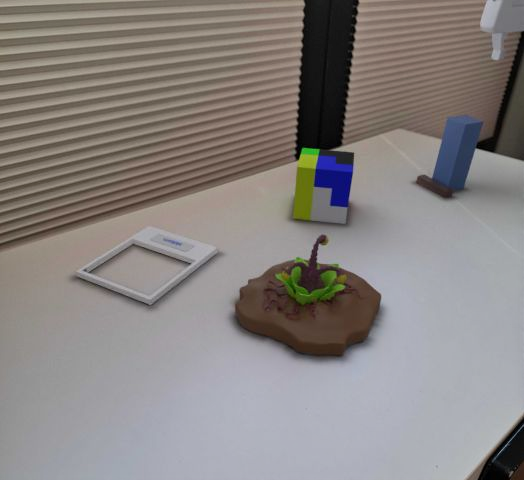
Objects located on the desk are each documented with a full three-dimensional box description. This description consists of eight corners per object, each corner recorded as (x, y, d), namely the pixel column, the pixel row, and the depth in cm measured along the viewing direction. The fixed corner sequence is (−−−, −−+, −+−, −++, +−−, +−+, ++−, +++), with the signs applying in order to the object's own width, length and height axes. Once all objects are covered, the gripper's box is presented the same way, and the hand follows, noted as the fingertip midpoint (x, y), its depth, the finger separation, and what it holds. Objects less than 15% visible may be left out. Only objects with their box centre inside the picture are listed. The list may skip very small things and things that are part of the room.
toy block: (447, 180, 114) (465, 114, 105) (463, 188, 111) (483, 121, 102) (430, 183, 112) (447, 117, 103) (446, 192, 109) (465, 124, 100)
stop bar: (422, 180, 113) (424, 174, 112) (452, 196, 107) (454, 189, 106) (416, 182, 113) (417, 175, 112) (445, 198, 107) (447, 191, 106)
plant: (398, 301, 77) (415, 235, 70) (338, 372, 65) (351, 301, 58) (287, 260, 86) (292, 196, 78) (215, 316, 73) (213, 247, 66)
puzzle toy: (345, 223, 96) (353, 172, 90) (293, 218, 97) (297, 167, 91) (346, 201, 104) (354, 152, 97) (298, 196, 105) (302, 147, 98)
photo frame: (217, 246, 86) (149, 298, 74) (217, 252, 87) (150, 305, 75) (149, 224, 91) (75, 270, 79) (149, 230, 92) (76, 276, 80)
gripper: (515, -30, 82) (489, 66, 91) (593, -33, 90) (562, 55, 99) (485, -33, 86) (462, 59, 95) (562, -36, 94) (535, 49, 103)
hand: (514, 57), depth 97 cm, fingers open, 8 cm apart
